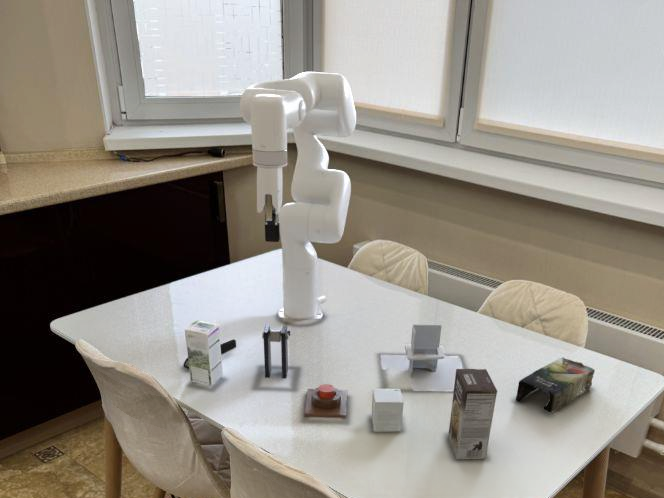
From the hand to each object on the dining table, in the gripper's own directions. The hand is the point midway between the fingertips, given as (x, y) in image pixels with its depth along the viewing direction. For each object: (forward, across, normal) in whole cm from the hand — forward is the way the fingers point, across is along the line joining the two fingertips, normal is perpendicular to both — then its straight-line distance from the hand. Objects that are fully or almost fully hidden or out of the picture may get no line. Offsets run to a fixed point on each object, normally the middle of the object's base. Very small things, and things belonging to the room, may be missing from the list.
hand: (272, 240), depth 161 cm
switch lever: (+21, +9, +2) cm, 23 cm away
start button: (+25, +27, +14) cm, 40 cm away
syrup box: (+29, +17, -14) cm, 37 cm away
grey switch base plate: (+29, +8, +37) cm, 48 cm away
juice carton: (+29, +17, +68) cm, 75 cm away
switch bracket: (+29, +13, +2) cm, 32 cm away
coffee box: (+29, +40, +44) cm, 66 cm away
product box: (+29, +33, +27) cm, 52 cm away
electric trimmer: (+29, +5, -16) cm, 34 cm away
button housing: (+29, +27, +14) cm, 42 cm away
